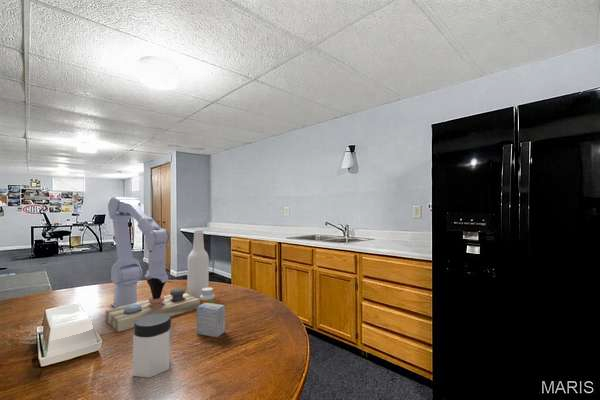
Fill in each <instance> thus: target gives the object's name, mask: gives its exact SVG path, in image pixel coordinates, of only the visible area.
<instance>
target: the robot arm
mask: <svg viewBox="0 0 600 400" xmlns="http://www.w3.org/2000/svg"><path fill="white" fill-rule="evenodd" d="M107 209H108V210H107V211H108V216H109V219H111V220H112V225H113V232H114V240H115V246H116V247H115V248H116V254H117V261H116V262H114V264H113V265H112V266H111V268H110V269H111V270H110V271H111V273H110V280H111V282H112V283H113V284H114V285H115V286H114V287H113V302H111V303H110V305H111V306H113V308H117V307H121V306H125V305H129V304H134V303H138V302H139V301H138V299H137V298H138V283H139V282H140V279H142V276H143V269H142V267H141V263H140V260H138V259H136V258H134V257H133V250H132V249H133V248H132V244H131V236H130V231H129V220H130V219H132V218H134V220H135V221H136V222H137V228H138V229H139V231H141V233H142V234H143V235H144V236H145V237H144V240H145V243H146V249H147V250H148V264H147V265H148V270H147V271H146V274H144V278H150V279H147V280H146V282H147V285H148V286H149V288H150V291H151V296H152V297H153V299H158V298H160V297H161V296H162V293H163V290H164V286H165V284H166V283H168V282H169V275H167V272H166V263H167V261H166V256H167V255H166V252H167V251H166V250H167V249H166V248H167V245H166V244H168V243H169V240H170V233H169V231H168V230H167V229H166V228H163V227H160V226H159V224H157V223H156V221H155V220H154V218H153V217H151V216H150V217H149V216H147V215H146V213H145V212H144V211H143V209H142V208H141V201H140V200H139V199H138V198H137V197H122V196H121V197H118V196H112V197H111V198H110V199H109V201H108V204H107Z"/></svg>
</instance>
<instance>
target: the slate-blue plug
mask: <svg viewBox="0 0 600 400" xmlns="http://www.w3.org/2000/svg"><path fill="white" fill-rule="evenodd" d="M140 310H141V305H140V304H133V305H128V306H126V307H124V312H125V313H126V314H127V315H128V314H132V313H136V312H139V311H140Z"/></svg>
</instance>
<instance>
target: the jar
mask: <svg viewBox="0 0 600 400" xmlns="http://www.w3.org/2000/svg"><path fill="white" fill-rule="evenodd" d="M133 330H134V331H133V334H134V335H133V336H132V376H133V377H138V378H139V377H140V378H147V379H148V378H149V379H150V378H152V377H154V376H157V375H159V374H161V373H163V372H166V371H168V370H169V369H170V364H171V356H172V354H171V352H172V349H171V348H172V339H171V338H172V316H170V315H168V314H151V315H147V316H144V317H141V318H139V319H138V320H136V321H135V323H134V327H133Z"/></svg>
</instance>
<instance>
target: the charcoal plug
mask: <svg viewBox="0 0 600 400" xmlns="http://www.w3.org/2000/svg"><path fill="white" fill-rule="evenodd" d="M184 293H186V289H184V288H174V289H171V290H170V294H169V295H172V301H173V302H178V301H182V300H183V294H184Z"/></svg>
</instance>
